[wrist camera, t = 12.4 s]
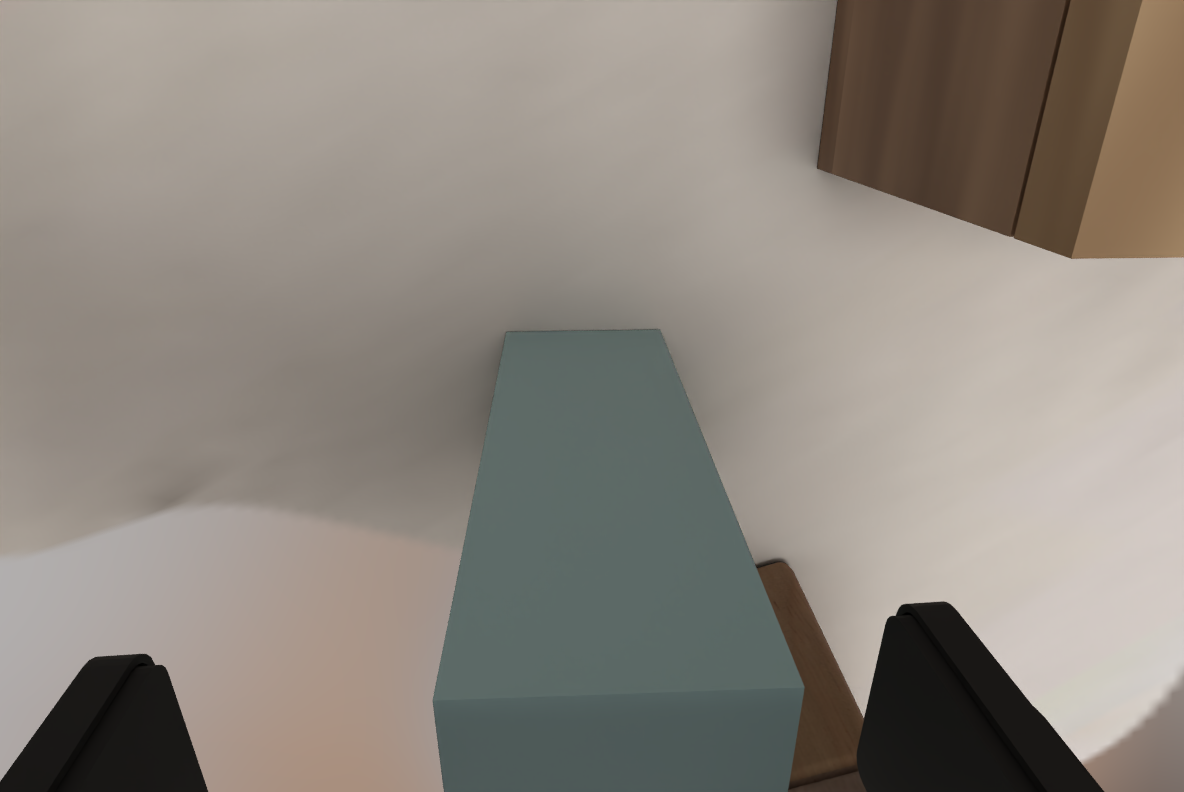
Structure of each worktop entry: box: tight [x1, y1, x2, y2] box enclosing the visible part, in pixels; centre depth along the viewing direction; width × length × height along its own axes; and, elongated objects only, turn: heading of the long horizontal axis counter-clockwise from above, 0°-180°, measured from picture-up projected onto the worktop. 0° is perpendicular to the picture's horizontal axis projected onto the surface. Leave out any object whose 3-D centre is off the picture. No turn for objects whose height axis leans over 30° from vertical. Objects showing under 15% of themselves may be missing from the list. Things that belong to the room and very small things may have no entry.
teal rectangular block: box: [433, 330, 805, 792], centre depth 14 cm, size 4×4×12 cm
